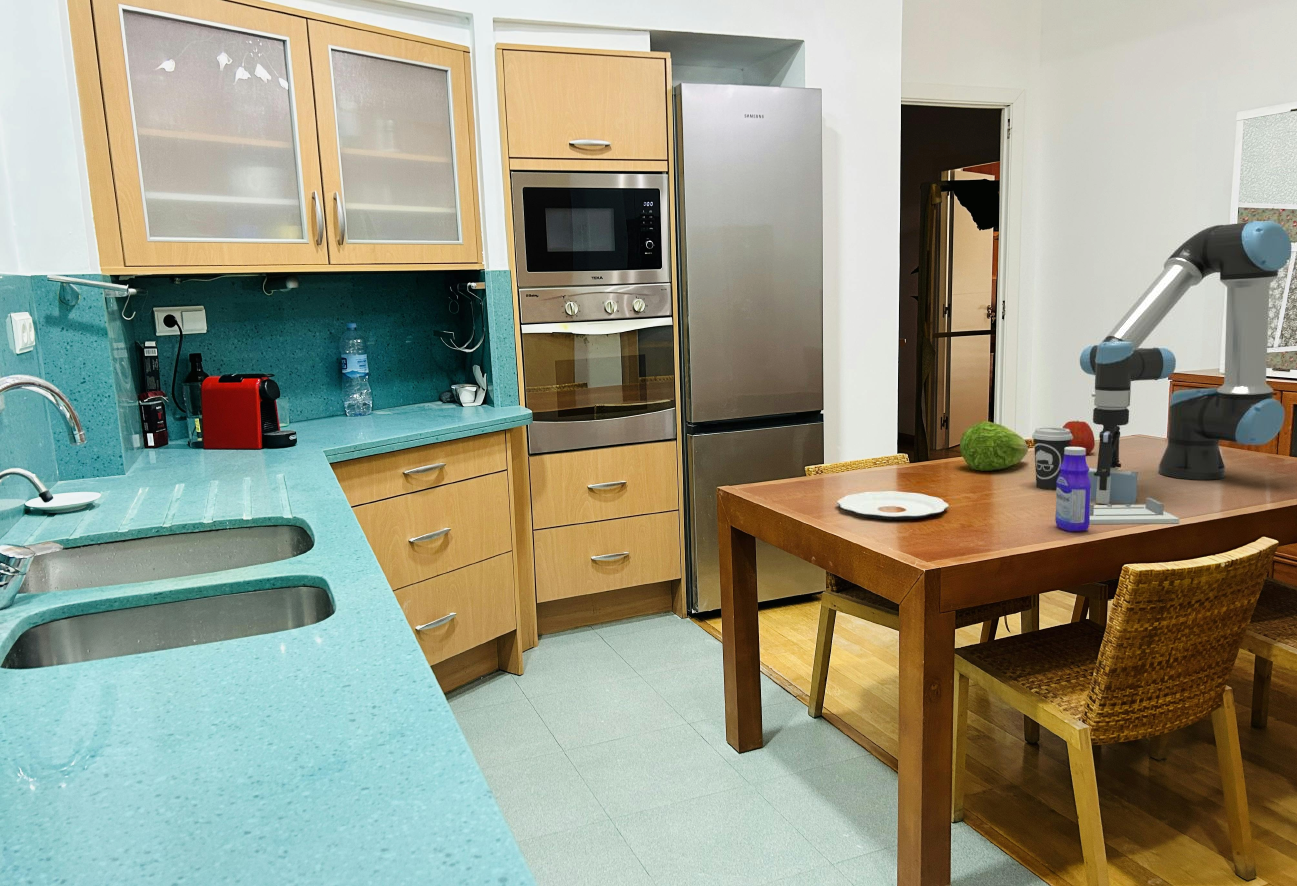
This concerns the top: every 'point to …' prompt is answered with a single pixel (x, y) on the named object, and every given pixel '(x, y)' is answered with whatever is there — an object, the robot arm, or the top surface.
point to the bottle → (1073, 491)
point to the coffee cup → (1049, 454)
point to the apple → (1081, 435)
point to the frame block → (1117, 486)
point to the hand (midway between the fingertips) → (1106, 498)
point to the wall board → (1131, 514)
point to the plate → (892, 504)
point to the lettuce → (991, 447)
